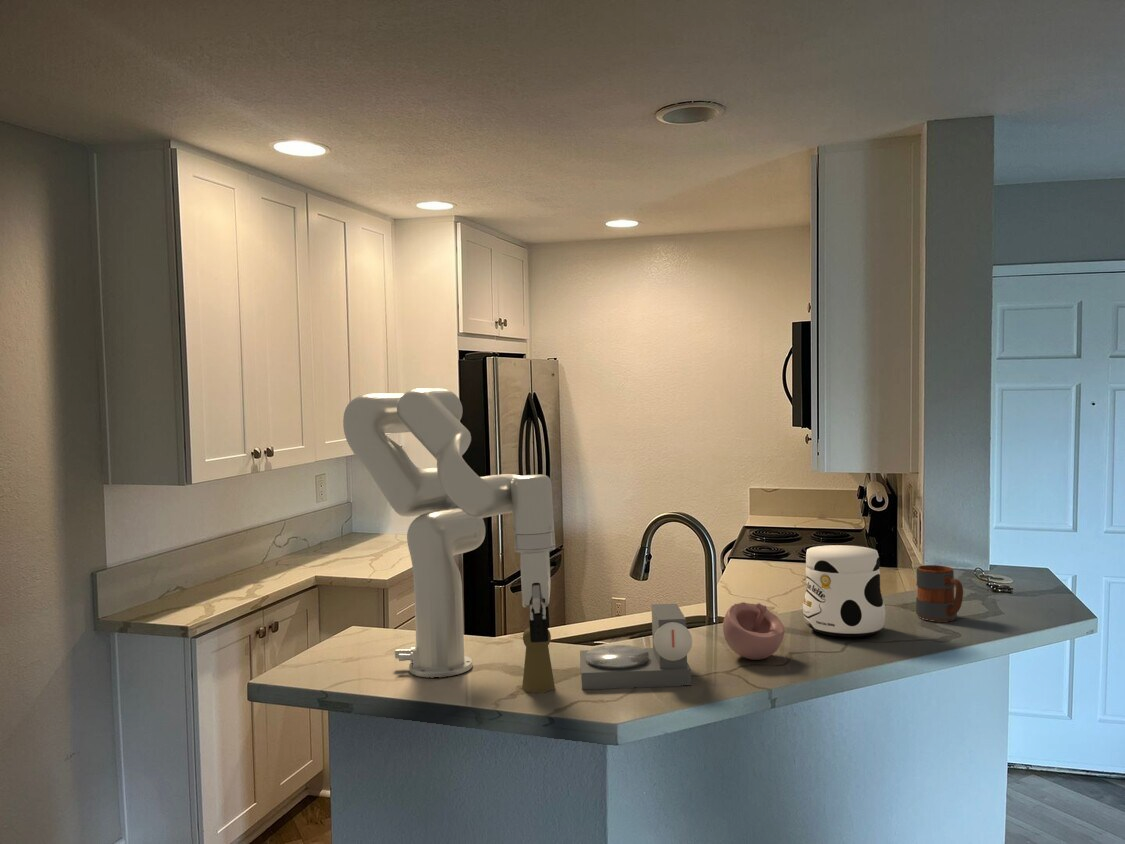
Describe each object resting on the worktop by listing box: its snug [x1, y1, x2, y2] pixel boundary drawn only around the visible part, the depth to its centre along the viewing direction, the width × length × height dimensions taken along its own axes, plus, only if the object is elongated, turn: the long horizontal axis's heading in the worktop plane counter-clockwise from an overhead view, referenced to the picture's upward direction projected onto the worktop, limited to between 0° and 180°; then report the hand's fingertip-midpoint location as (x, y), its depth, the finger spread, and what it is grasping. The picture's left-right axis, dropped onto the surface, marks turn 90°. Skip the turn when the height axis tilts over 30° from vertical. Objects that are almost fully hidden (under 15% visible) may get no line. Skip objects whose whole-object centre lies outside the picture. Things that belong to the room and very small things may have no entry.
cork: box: [521, 627, 556, 694], centre depth 150 cm, size 6×6×11 cm
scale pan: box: [586, 644, 649, 669], centre depth 155 cm, size 12×12×1 cm
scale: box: [579, 603, 693, 690], centre depth 155 cm, size 20×14×12 cm
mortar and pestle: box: [722, 601, 786, 661], centre depth 163 cm, size 12×12×11 cm
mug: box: [915, 564, 964, 622], centre depth 187 cm, size 9×12×12 cm
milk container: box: [802, 544, 887, 638], centre depth 180 cm, size 17×17×18 cm
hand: (540, 634), depth 150 cm, fingers open, 9 cm apart
